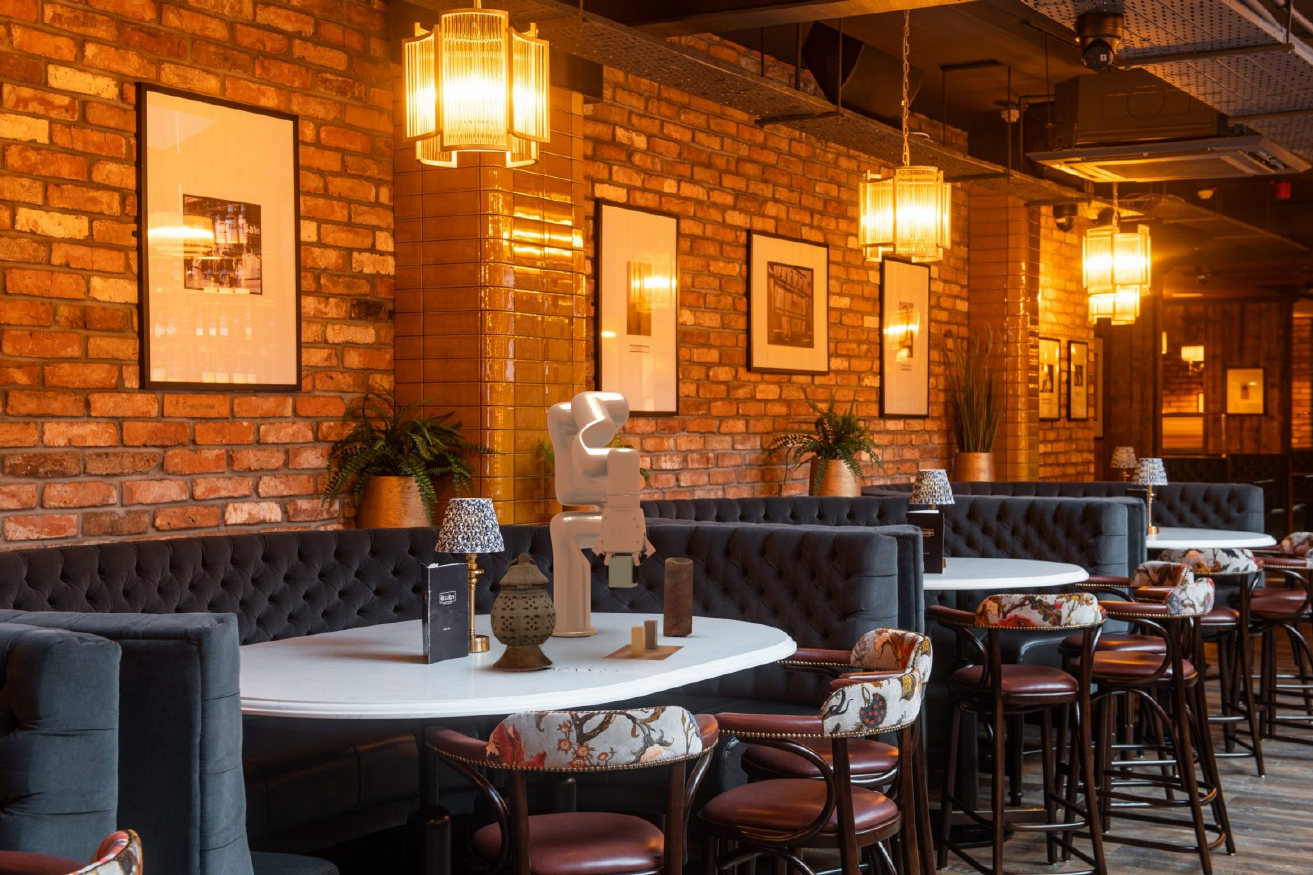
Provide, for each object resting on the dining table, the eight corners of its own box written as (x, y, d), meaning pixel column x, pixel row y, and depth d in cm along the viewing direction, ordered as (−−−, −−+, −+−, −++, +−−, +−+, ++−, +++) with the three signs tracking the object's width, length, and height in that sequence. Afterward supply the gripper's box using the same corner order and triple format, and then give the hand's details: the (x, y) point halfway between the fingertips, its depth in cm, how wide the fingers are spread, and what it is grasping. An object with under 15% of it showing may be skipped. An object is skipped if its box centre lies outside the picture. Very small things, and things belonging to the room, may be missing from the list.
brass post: (631, 656, 311) (631, 627, 312) (634, 654, 314) (634, 626, 314) (642, 656, 311) (642, 628, 311) (645, 655, 313) (645, 626, 313)
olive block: (608, 587, 310) (608, 557, 311) (615, 584, 315) (615, 556, 316) (631, 587, 309) (630, 558, 309) (637, 585, 314) (637, 556, 314)
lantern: (478, 669, 298) (478, 554, 299) (512, 660, 311) (511, 549, 312) (535, 673, 293) (535, 556, 293) (566, 664, 306) (566, 551, 306)
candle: (694, 635, 351) (694, 557, 352) (692, 639, 344) (691, 559, 344) (664, 635, 352) (664, 557, 352) (661, 639, 345) (661, 559, 345)
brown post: (644, 648, 323) (644, 621, 323) (646, 647, 326) (646, 619, 326) (654, 649, 323) (654, 621, 323) (657, 647, 325) (657, 620, 325)
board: (602, 661, 309) (602, 657, 309) (627, 647, 331) (627, 644, 331) (663, 663, 306) (663, 660, 306) (684, 649, 327) (684, 646, 327)
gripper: (582, 503, 311) (582, 583, 311) (655, 503, 307) (655, 585, 306) (592, 501, 318) (592, 580, 318) (663, 502, 314) (664, 582, 314)
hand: (623, 581), depth 312 cm, fingers closed on olive block, 5 cm apart
